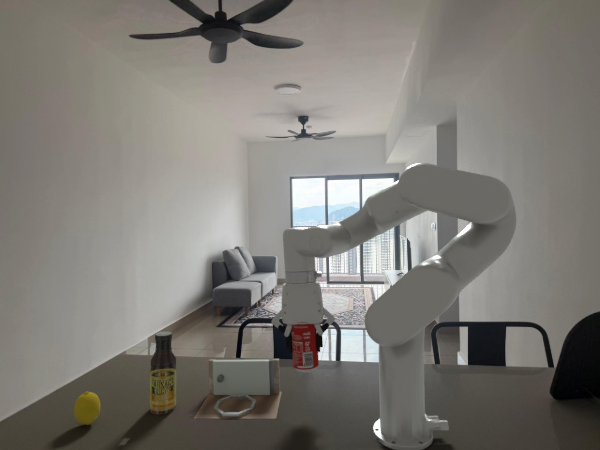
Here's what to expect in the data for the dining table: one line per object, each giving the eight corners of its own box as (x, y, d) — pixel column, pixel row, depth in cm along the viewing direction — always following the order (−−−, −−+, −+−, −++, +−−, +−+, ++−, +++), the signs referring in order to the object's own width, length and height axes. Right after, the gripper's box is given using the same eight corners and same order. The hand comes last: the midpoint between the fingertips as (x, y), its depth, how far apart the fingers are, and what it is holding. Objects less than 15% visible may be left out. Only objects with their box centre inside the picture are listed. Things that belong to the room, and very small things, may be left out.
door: (274, 392, 104) (274, 359, 104) (273, 397, 102) (272, 362, 101) (215, 393, 105) (213, 359, 105) (212, 397, 102) (211, 363, 102)
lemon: (95, 416, 97) (93, 384, 96) (105, 423, 93) (103, 390, 93) (70, 426, 92) (69, 392, 92) (80, 434, 89) (79, 399, 89)
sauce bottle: (148, 420, 94) (146, 338, 93) (151, 408, 100) (148, 331, 99) (177, 416, 96) (174, 335, 95) (178, 404, 102) (175, 328, 101)
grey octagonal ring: (258, 397, 102) (257, 394, 102) (251, 417, 92) (251, 413, 92) (221, 398, 102) (220, 395, 102) (210, 417, 93) (210, 413, 93)
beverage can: (319, 364, 99) (316, 316, 98) (318, 373, 92) (315, 323, 92) (294, 364, 99) (292, 317, 99) (291, 374, 93) (288, 324, 93)
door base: (281, 395, 105) (280, 358, 105) (276, 422, 91) (274, 380, 91) (210, 395, 106) (209, 359, 106) (193, 422, 92) (192, 380, 92)
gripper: (335, 273, 99) (339, 344, 99) (267, 277, 100) (271, 347, 100) (336, 278, 91) (341, 354, 91) (263, 281, 92) (267, 357, 92)
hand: (304, 350), depth 96 cm, fingers closed on beverage can, 6 cm apart
